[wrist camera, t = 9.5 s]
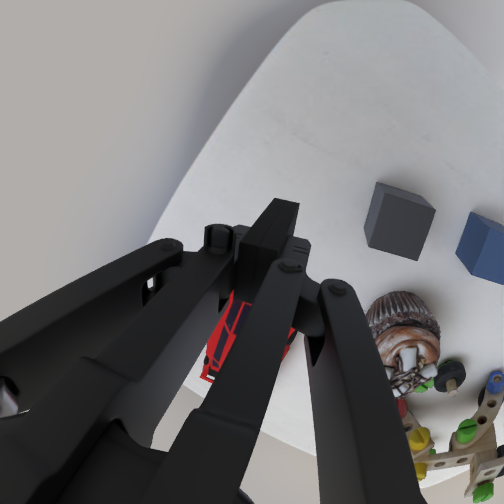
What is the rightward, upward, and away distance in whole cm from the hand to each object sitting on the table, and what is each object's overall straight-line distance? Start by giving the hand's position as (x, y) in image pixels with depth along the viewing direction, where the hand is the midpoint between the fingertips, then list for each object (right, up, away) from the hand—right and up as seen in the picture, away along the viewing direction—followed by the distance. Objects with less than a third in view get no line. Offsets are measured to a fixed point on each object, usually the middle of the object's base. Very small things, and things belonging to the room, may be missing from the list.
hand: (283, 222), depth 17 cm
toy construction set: (+29, -28, +19) cm, 45 cm away
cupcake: (+15, -10, +14) cm, 23 cm away
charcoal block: (+12, +2, +9) cm, 16 cm away
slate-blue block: (+23, 0, +7) cm, 24 cm away
